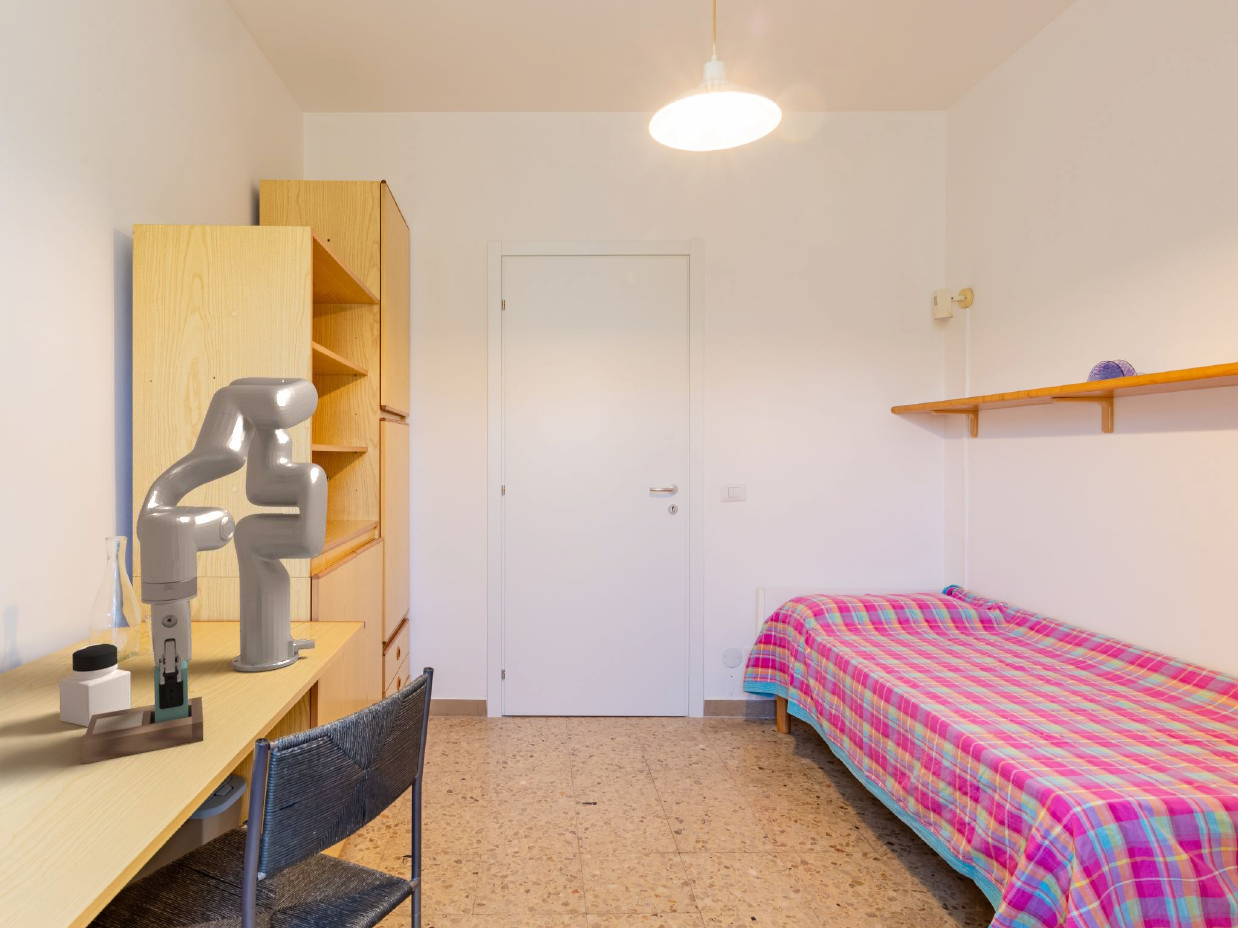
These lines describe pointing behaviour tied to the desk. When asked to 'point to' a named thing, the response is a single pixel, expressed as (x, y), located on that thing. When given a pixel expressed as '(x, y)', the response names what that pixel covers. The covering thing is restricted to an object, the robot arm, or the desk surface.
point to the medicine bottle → (94, 685)
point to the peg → (173, 712)
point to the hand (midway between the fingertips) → (171, 700)
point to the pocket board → (139, 732)
